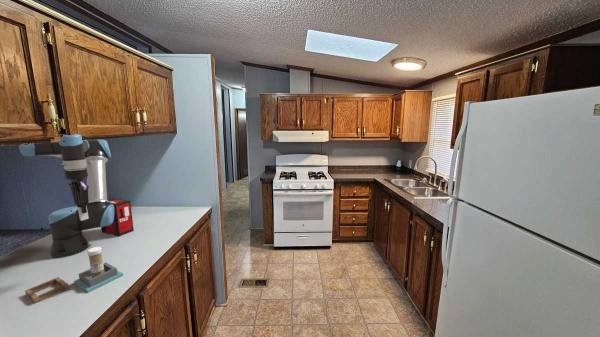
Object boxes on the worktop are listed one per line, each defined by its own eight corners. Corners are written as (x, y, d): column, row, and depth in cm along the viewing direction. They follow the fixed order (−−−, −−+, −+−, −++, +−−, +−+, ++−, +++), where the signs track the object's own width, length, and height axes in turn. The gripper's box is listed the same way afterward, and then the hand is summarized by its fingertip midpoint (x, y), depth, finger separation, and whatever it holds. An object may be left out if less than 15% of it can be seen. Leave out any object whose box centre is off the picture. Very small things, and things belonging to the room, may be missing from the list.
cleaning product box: (101, 232, 154) (97, 202, 151) (116, 227, 163) (112, 198, 159) (119, 236, 149) (115, 205, 145) (133, 230, 157) (130, 200, 154)
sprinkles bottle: (92, 281, 104) (87, 252, 102) (91, 277, 107) (86, 249, 105) (106, 277, 107) (101, 249, 105) (104, 272, 111) (100, 245, 108)
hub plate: (74, 283, 105) (72, 274, 104) (108, 267, 116) (107, 260, 115) (88, 292, 99) (86, 283, 98) (123, 275, 110) (122, 267, 109)
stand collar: (25, 295, 98) (24, 290, 97) (59, 281, 106) (58, 277, 106) (35, 303, 93) (34, 298, 93) (69, 288, 102) (68, 283, 101)
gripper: (58, 169, 108) (67, 219, 112) (71, 172, 102) (80, 224, 106) (79, 166, 114) (87, 214, 119) (93, 169, 108) (101, 219, 113)
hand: (84, 219), depth 112 cm, fingers closed
